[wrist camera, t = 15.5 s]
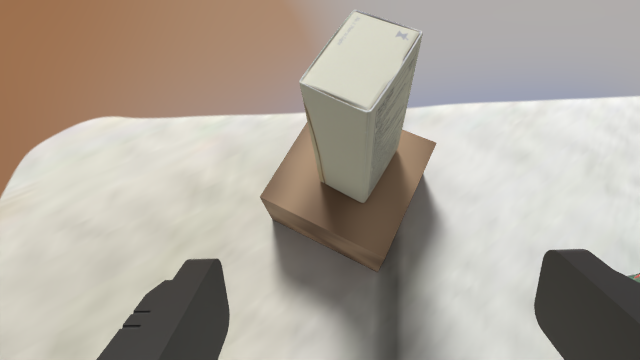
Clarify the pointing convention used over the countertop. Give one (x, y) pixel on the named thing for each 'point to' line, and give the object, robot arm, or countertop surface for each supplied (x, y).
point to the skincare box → (359, 100)
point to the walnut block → (346, 200)
